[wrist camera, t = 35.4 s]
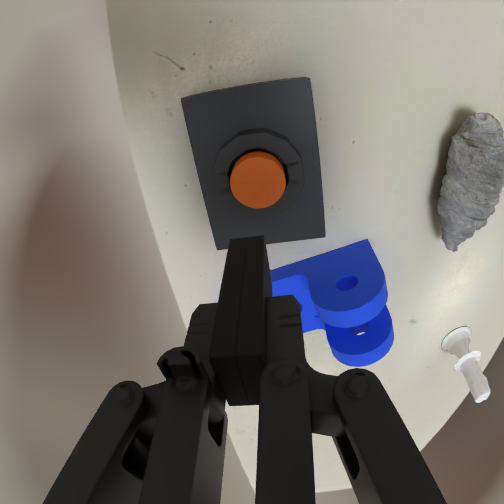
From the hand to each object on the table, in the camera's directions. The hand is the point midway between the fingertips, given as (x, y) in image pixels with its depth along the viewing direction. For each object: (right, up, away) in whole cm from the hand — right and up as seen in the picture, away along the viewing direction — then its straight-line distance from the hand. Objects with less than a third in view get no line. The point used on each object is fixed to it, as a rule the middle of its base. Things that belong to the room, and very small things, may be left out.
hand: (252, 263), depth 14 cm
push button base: (+1, +9, +13) cm, 16 cm away
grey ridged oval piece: (+21, +8, +12) cm, 26 cm away
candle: (+31, -13, +25) cm, 42 cm away
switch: (+1, +6, +9) cm, 11 cm away
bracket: (+5, -4, +21) cm, 22 cm away
